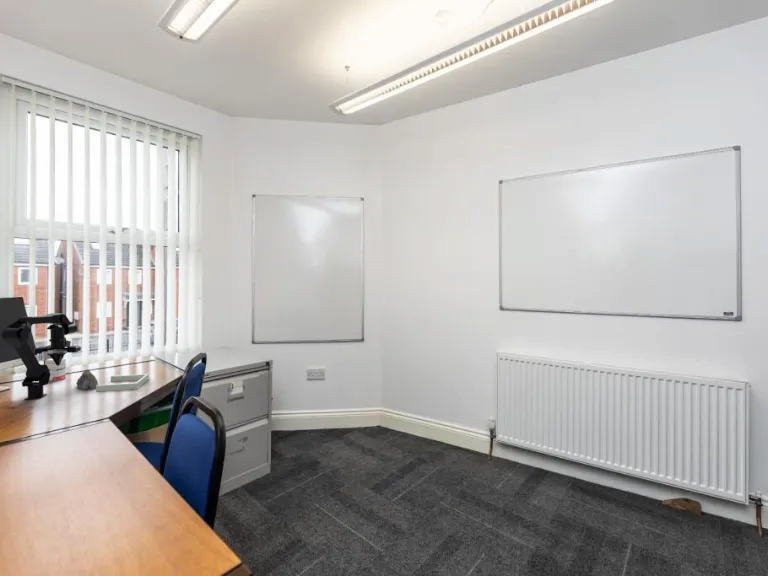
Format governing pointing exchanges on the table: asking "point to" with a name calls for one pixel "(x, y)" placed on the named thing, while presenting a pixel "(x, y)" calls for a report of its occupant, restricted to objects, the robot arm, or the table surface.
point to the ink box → (56, 370)
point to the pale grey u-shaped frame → (140, 377)
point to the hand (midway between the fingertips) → (58, 365)
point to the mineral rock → (87, 380)
